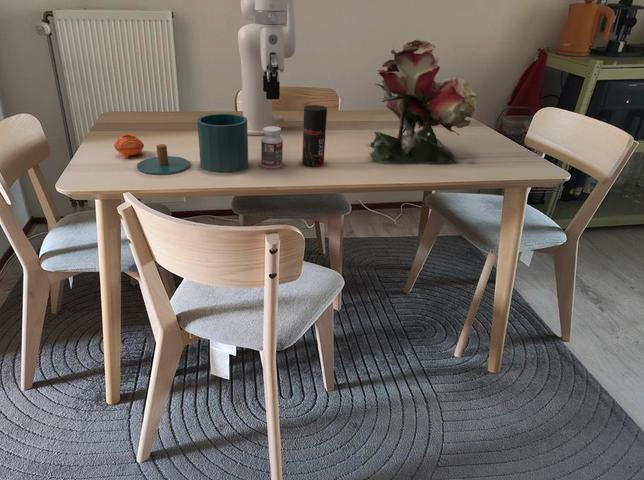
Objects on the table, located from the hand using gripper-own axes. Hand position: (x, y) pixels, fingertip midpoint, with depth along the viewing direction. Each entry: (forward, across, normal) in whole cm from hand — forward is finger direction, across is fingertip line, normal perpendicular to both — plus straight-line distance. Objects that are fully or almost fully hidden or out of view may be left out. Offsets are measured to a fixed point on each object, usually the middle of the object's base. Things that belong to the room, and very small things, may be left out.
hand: (271, 95), depth 125 cm
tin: (+18, 0, +12) cm, 22 cm away
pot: (+18, +10, +38) cm, 44 cm away
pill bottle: (+18, 0, 0) cm, 19 cm away
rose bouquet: (+18, +11, -43) cm, 48 cm away
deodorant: (+18, +1, -12) cm, 22 cm away
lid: (+18, 0, +28) cm, 34 cm away
